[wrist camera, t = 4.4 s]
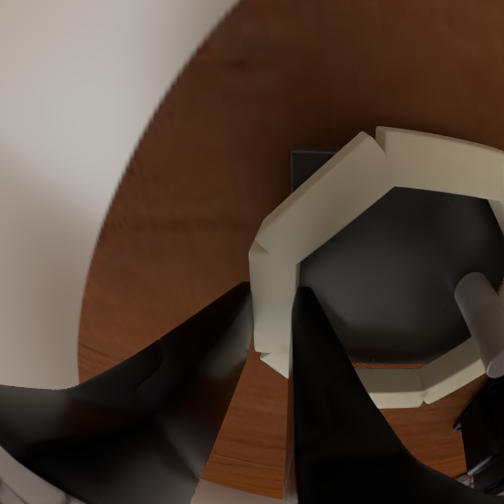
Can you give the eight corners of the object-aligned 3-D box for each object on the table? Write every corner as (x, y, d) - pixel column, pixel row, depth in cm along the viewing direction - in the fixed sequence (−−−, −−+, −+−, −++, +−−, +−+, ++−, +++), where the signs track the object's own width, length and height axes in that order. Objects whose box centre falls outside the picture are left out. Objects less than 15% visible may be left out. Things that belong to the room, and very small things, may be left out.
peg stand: (515, 174, 7) (597, 231, 3) (457, 347, 10) (479, 428, 7) (293, 144, 8) (267, 186, 4) (289, 341, 12) (270, 434, 8)
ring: (555, 167, 5) (578, 180, 4) (470, 380, 9) (476, 401, 8) (252, 121, 7) (239, 125, 6) (263, 377, 11) (257, 400, 10)
